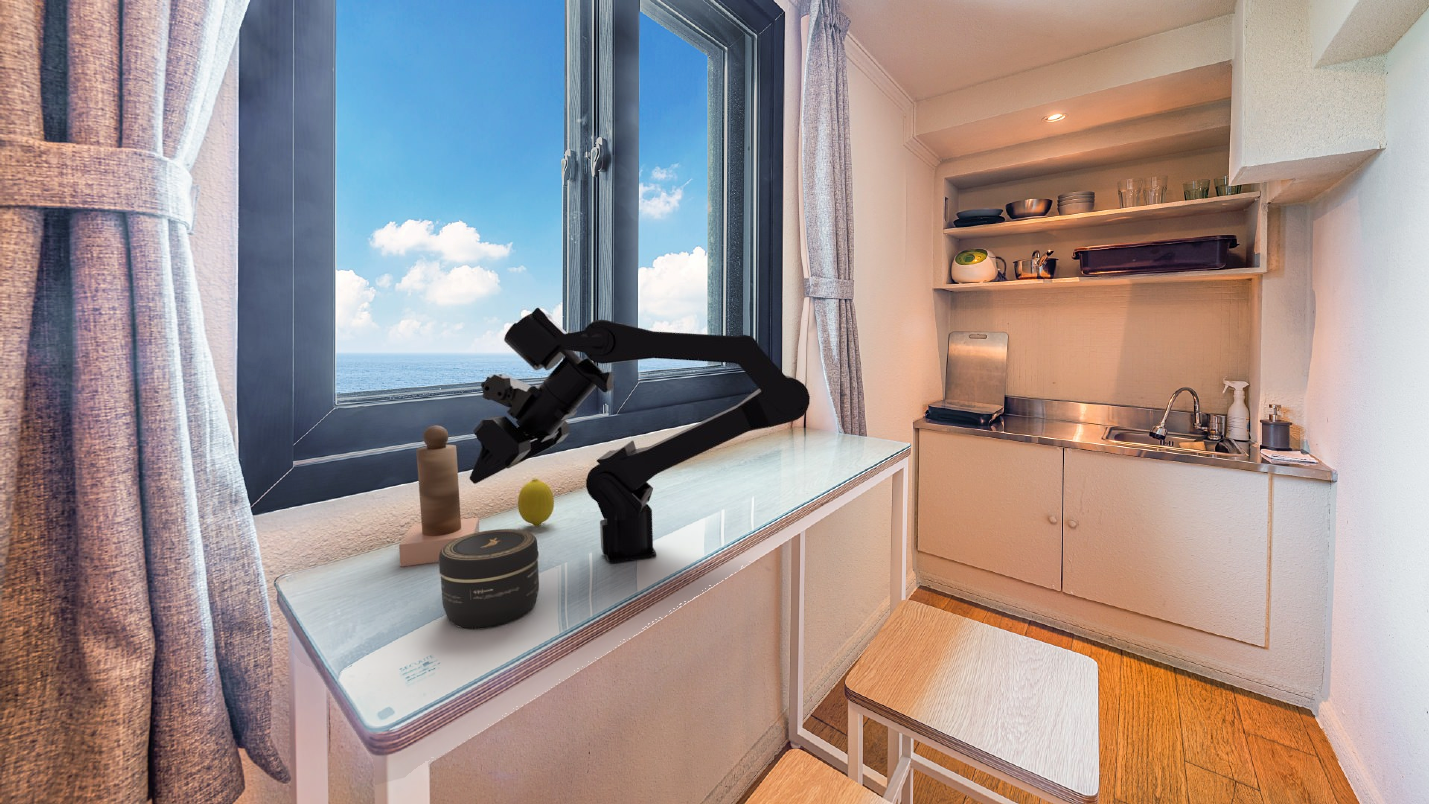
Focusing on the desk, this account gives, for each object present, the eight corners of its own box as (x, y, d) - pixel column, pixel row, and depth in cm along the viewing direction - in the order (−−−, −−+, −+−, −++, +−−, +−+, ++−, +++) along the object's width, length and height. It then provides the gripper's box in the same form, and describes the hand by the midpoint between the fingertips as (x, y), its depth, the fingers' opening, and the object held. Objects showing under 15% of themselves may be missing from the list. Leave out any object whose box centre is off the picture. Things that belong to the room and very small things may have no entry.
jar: (539, 584, 65) (536, 523, 64) (543, 622, 55) (539, 551, 55) (448, 598, 61) (444, 534, 61) (436, 642, 52) (431, 566, 51)
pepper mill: (466, 523, 79) (460, 422, 77) (453, 535, 74) (446, 427, 72) (431, 525, 78) (424, 423, 77) (415, 536, 73) (408, 428, 72)
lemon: (560, 521, 89) (558, 474, 88) (546, 532, 83) (544, 482, 82) (528, 521, 89) (526, 474, 89) (513, 532, 84) (510, 482, 83)
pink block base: (479, 536, 82) (478, 517, 82) (474, 557, 74) (472, 536, 73) (414, 544, 79) (412, 524, 79) (400, 566, 71) (398, 544, 70)
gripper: (545, 353, 82) (482, 425, 84) (483, 353, 63) (404, 445, 65) (597, 402, 82) (533, 473, 84) (551, 417, 63) (470, 507, 65)
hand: (489, 473), depth 75 cm, fingers open, 9 cm apart
